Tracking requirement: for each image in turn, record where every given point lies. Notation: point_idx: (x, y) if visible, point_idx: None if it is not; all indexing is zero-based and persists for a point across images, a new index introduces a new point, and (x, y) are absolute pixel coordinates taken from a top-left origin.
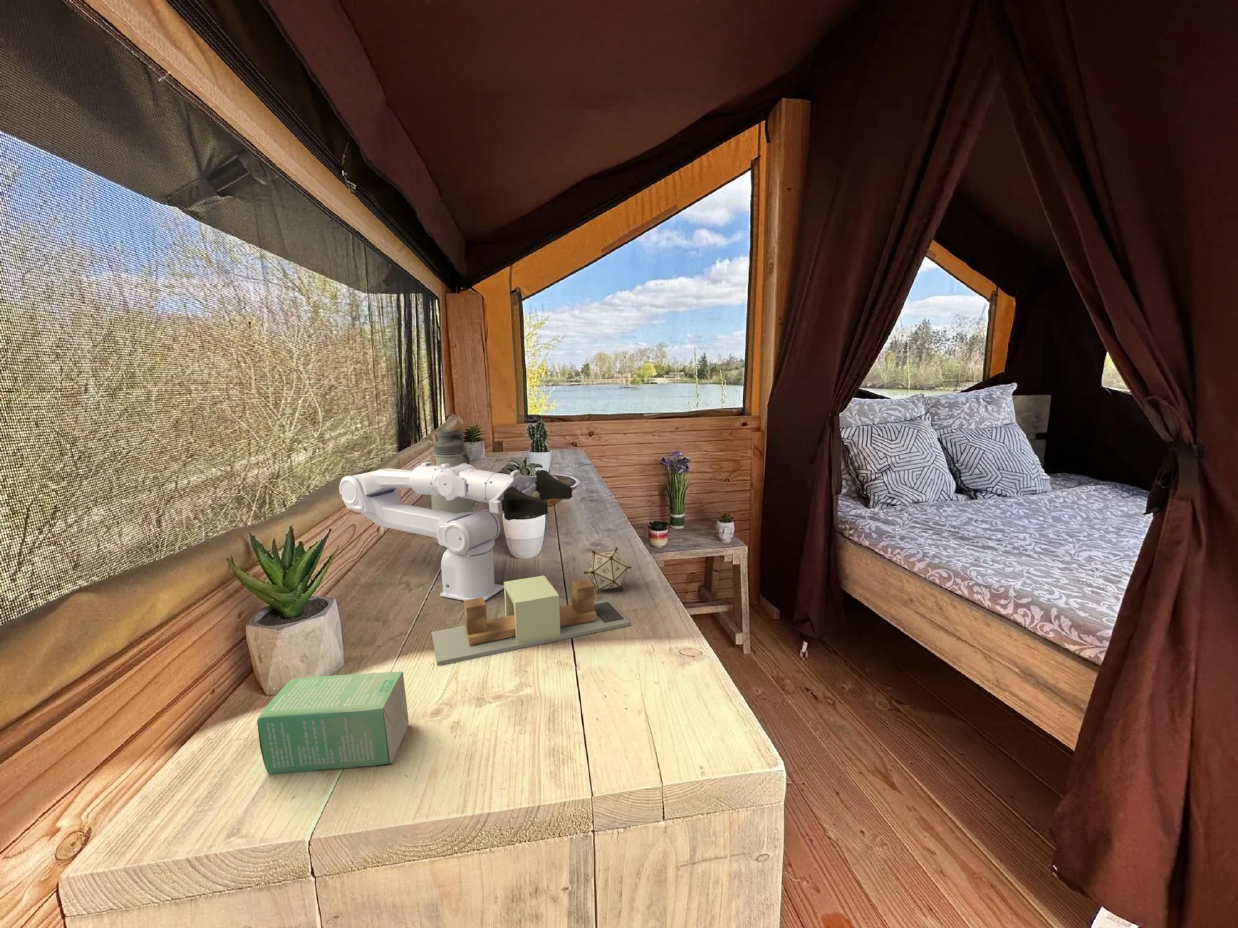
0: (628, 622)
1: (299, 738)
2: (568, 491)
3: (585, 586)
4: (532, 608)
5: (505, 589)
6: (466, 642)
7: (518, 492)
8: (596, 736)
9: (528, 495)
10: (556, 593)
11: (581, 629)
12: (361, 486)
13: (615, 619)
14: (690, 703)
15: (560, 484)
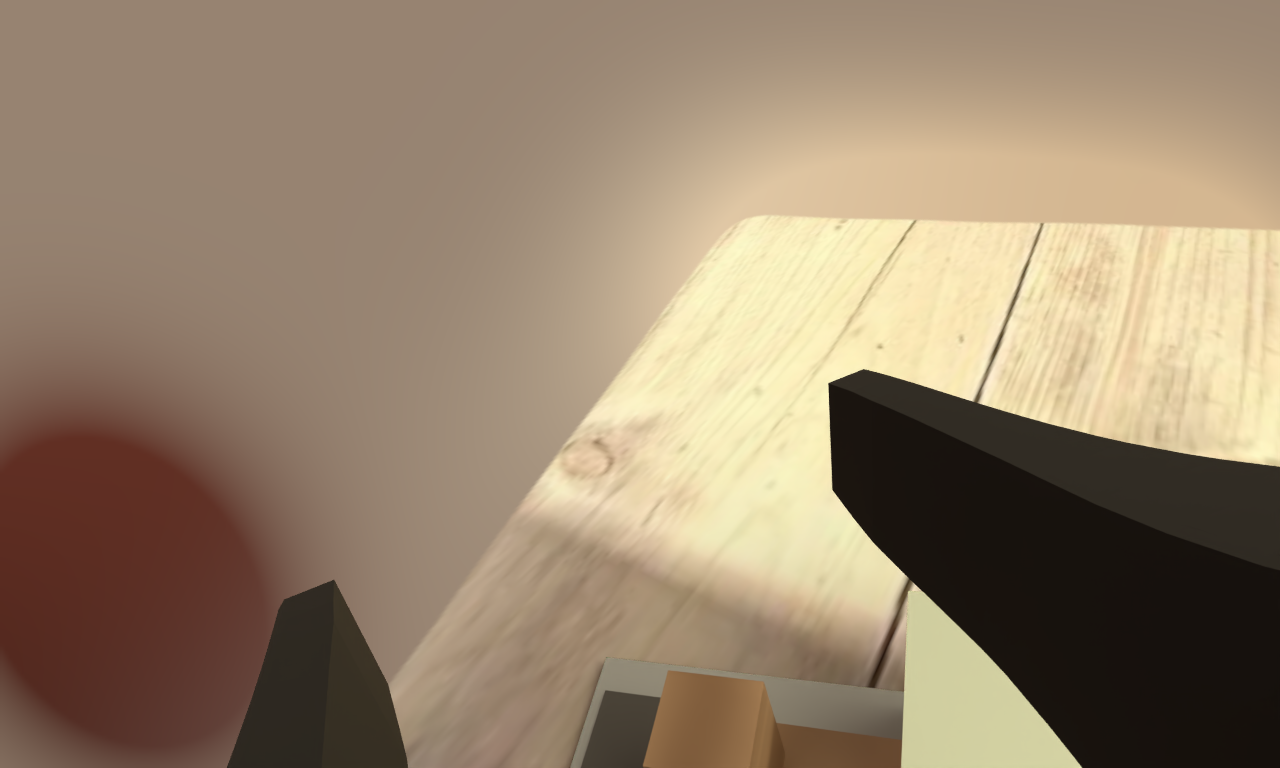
0: (611, 658)
1: None
2: (354, 635)
3: (710, 684)
4: None
5: None
6: None
7: (1241, 521)
8: (984, 303)
9: (1042, 474)
10: (914, 615)
11: (809, 703)
12: None
13: (639, 696)
14: (742, 325)
15: (332, 681)
